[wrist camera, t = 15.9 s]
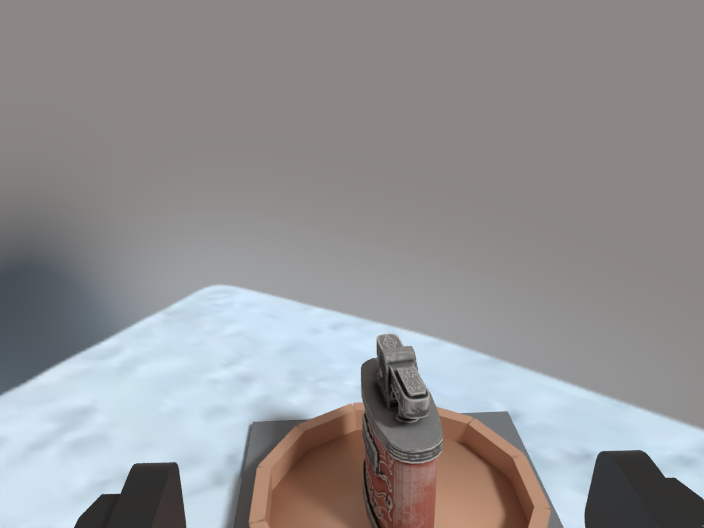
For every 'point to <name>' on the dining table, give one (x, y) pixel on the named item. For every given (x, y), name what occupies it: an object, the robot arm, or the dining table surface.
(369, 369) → the lighter
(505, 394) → the dining table surface
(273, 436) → the mat
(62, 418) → the dining table surface
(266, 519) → the dish
